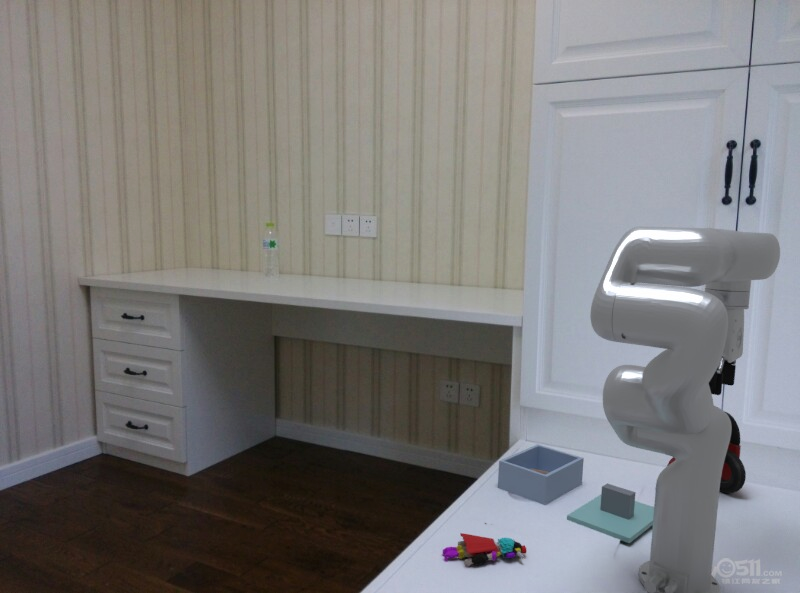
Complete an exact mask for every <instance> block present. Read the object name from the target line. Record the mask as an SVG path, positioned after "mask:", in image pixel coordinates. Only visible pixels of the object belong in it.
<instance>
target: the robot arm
mask: <svg viewBox="0 0 800 593" xmlns="http://www.w3.org/2000/svg"><path fill="white" fill-rule="evenodd" d="M780 257H781V248H780V243H779V240H778V238H777V236H776V235H775V234H773V233H771V232H754V231H752V232H751V231H738V230H732V229H724V228H713V227H712V228H711V227H710V228H709V227H708V228H707V227H705V228H702V227H701V228H700V227H671V226H670V227H666V226H664V227H663V226H635V227H632V228H630V229H629V230H627V231H626V232H625V233H624V234H623V235H622V236H621V238H620V239H619V241H618V242H617V244H616V246H615V248H614V249H613V251H612V253H611V255H610V257H609V260H608V262H607V264H606V266H605V269H604V272H603V274H602V276H601V279H600V280H599V282H598V285H597V288H596V290H595V293H594V295H593V299H592V302H591V306H590V307H591V308H590V324H591V328H592V329H593V331H594V332H595V334H596V335H597V336H598V337H599V338H602V339H604V340H607V341H610V342H615V343H622V344H627V345H628V344H631V345H636V346H637V345H638V346H643V347H651V348H657V349H665V350H663V351H661V352H660V353H659V354H658V355H657V356H655V357H654V358H653V359H651V360H650V361H649V362H648V363H647V364H646V366H641V365H634V364H621V365H618V366H616V367H614V368H612V370H611V371H610V372H609V373H608V375H607V376H606V378H605V381H604V385H603V390H602V407H603V408H602V409H603V411H604V415H605V417H606V419H607V422H609V424H610V426H611V428H612V429H613V431H614V433H615V434H616V435H617V437H618V438H619V440H620V441H621V442H622V443H624V444H625V445H626V446H629V447H633V448H636V449H640V450H645V451H650V452H654V453H659V454H662V455H666V456H670V457H671V458H673V457H674V458H675V459H676V460H675V461H674V462H672V463H671V464H669V465H668V464H667V465H668V466H667V465H666V466H665V468H663V469H662V470H661V471H660V472H659V474H658V476H657V478H656V483H655V493H654V494H655V495H654V506H653V507H654V517H653V525H652V529H651V530H652V531H651V542H650V556H649V560H648V561H647V560H646V562H644V563H642V564H641V565H640V567H639V570H638V578H639V581H640V583H641V584H642V585H643V587H644V589H645V591H646V592H648V593H721V585H720V583H719V582H718V580H717V579H716V578H715V577H714V576H713V575H712V572H713V571H712V570H713V563H714V562H713V560H714V552H715V551H714V550H715V540H716V530H717V520H718V519H717V518H718V507H719V497H720V496H719V495H720V491H719V489H720V481H721V475H722V469H723V465H724V460H725V457H726V453H727V449H728V446H729V442H730V437H731V430H732V426H731V421H730V418H729V416H728V415H727V414H726V413H725V412H726V411H725V410H723V409H722V408H720V407H718V406H716V405H714V399H713V395H714V396H720V395H722V390H723V389H722V388H723V385H725V386H734V384H735V380H736V379H735V378H736V377H735V376H736V368H737V365H736V363H737V360H738V359H740V358H741V357H742V356H743V354H744V353H743V351H744V337H745V336H744V334H745V333H744V332H745V310H748V309H749V304H750V296H751V287H752V286H751V285H752V281H761V280H767V279H768V278H770V277H772V276H773V274H774V273H775V272H776V270H777V268H778V266H779V262H780V259H781V258H780ZM701 286H704V287H705V288H704V291H703V290H700V289H697V288H696V287H701ZM691 287H692V288H691ZM694 287H695V288H694ZM724 411H725V412H724Z"/></svg>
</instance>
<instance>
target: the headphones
mask: <svg viewBox="0 0 800 593" xmlns="http://www.w3.org/2000/svg"><path fill="white" fill-rule="evenodd" d="M723 411H724V412H725V413H726V414H727V415H728V416H729V418H730V421H731V426H732V430H731V437H730V442H729V446H728V449H727V453H726V457H725V460H724V465H723V469H722V475H721V481H720V489H719V492H721V491H722V492H721V493H724V494H734V493H736V492H738V491H740V490H741V489H742V488H743V486H744V484H745V483H746V475H747V474H746V473H747V472H746V469H745V465H744V463H743V461H742V460H741V459H740V458H741V431H740V427H739V426H738V422H737V421H736V419H735V417H734V416H733V415H731V414H730V413H729V412H727V411H725V410H723ZM675 460H676V459H675V458H674V457H671V459H670V460H669V461H668V463H667V465H666V467H667V466H668V465H669V464H671V463H672V462H674V461H675Z"/></svg>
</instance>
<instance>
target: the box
mask: <svg viewBox="0 0 800 593" xmlns="http://www.w3.org/2000/svg"><path fill="white" fill-rule="evenodd" d="M584 459H585V458H584V457H581V456H578V455H575V454H572V453H567V452H565V451H562V450H558V449H554V448H551V447H549V446H545V445H542V444H538V443H537V444H535V445H533V446H531V447H528V448H525V449H523V450H521V451H519V452H517V453H514V454H511V455H509V456H507V457H505V458H502V459H500V460H499V461H498V476H497V488H498V489H500V490H503V491H506V492H508V493H511V494H513V495H516V496H520V497H522V498H524V499H527V500H530V501H532V502H535V503H537V504H541V505H543V506H546V505H548V504H549V503H551V502H553V501H555V500H557V499H558V498H560V497H562V496H564V495H566V494H568V493H569V492H571V491H573V490H575V489H576V488H578V487H580V486H582V485H583V472H584ZM531 468H532V469H537V470H542V471H546V472H550V473H548V474H546V475H545V474H542V473H539V472H536V471H533V470H530V469H531Z"/></svg>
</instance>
